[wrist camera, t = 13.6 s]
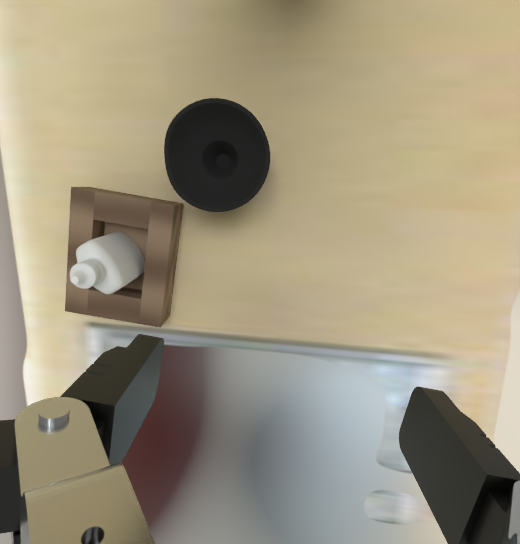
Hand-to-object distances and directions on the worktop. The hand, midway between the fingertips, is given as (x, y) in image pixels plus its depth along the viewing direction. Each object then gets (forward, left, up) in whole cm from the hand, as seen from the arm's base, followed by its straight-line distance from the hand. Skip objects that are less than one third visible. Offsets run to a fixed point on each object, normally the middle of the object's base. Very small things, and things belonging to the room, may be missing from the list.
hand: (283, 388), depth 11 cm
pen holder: (-8, -6, -33) cm, 34 cm away
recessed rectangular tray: (+5, -17, -32) cm, 37 cm away
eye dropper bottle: (+5, -17, -32) cm, 36 cm away
